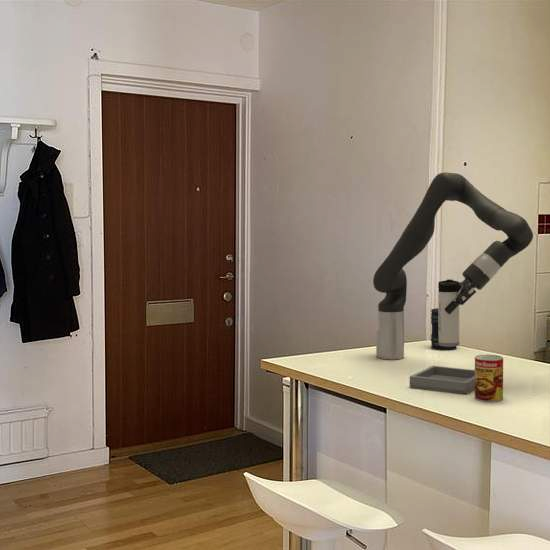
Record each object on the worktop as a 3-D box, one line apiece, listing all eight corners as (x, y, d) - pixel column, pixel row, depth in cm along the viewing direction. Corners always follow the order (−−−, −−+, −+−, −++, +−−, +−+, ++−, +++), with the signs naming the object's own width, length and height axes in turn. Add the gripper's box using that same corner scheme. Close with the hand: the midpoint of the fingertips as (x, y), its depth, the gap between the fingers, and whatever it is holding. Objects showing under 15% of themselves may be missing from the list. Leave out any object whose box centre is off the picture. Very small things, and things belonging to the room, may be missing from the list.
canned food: (469, 398, 228) (469, 357, 227) (483, 393, 234) (484, 353, 233) (493, 403, 223) (494, 361, 222) (508, 397, 228) (508, 356, 227)
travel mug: (460, 343, 246) (460, 279, 245) (458, 347, 240) (457, 281, 238) (440, 342, 249) (439, 279, 247) (437, 346, 242) (436, 281, 241)
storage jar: (426, 347, 309) (425, 309, 307) (447, 345, 312) (447, 307, 311) (439, 351, 299) (439, 312, 298) (462, 349, 303) (462, 310, 302)
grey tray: (409, 387, 243) (409, 376, 243) (432, 376, 258) (432, 365, 257) (466, 394, 233) (466, 382, 233) (486, 382, 248) (486, 371, 248)
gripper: (465, 260, 250) (429, 299, 250) (480, 264, 235) (441, 305, 236) (482, 277, 250) (445, 315, 251) (497, 281, 236) (458, 322, 236)
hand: (443, 310), depth 243 cm, fingers closed on travel mug, 6 cm apart
